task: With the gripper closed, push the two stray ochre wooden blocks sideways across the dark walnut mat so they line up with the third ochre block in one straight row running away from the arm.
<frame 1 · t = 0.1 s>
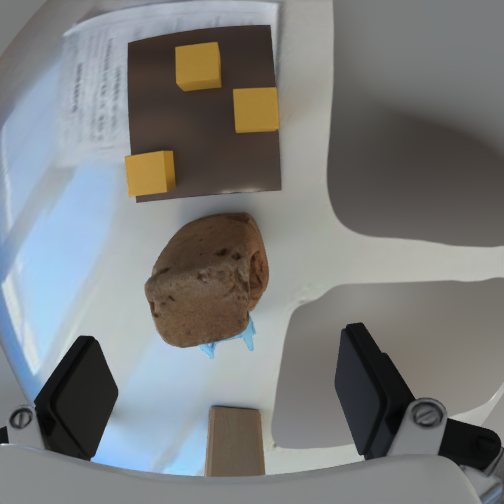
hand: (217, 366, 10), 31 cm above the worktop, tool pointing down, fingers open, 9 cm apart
brown rounded lump: (221, 236, 41), on the worktop
ochre block A: (201, 72, 33), resting on mat
light blue crumpled piece: (227, 294, 44), on the worktop
ochre block C: (156, 171, 37), resting on mat
mat: (200, 107, 35), on the worktop
wooden block: (233, 420, 54), on the worktop
ochre block B: (254, 113, 35), resting on mat
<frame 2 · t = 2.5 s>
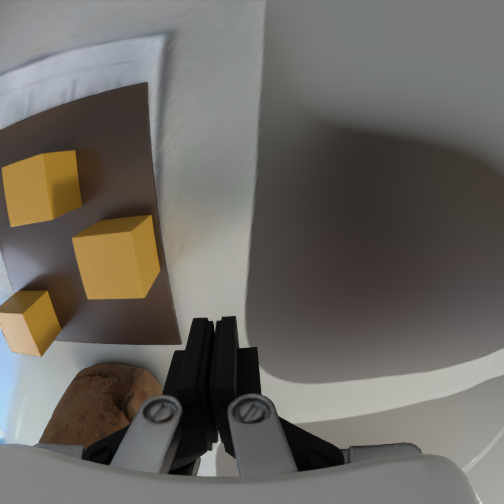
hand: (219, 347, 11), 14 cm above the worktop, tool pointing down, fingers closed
brown rounded lump: (123, 381, 30), on the worktop
ochre block A: (57, 182, 21), resting on mat
ochre block C: (39, 310, 26), resting on mat
mat: (63, 235, 23), on the worktop
ochre block B: (129, 245, 24), resting on mat
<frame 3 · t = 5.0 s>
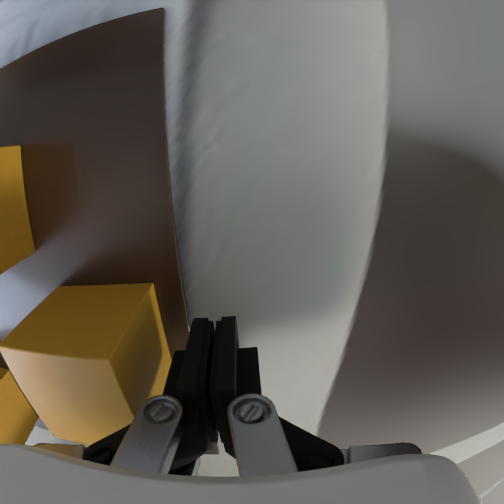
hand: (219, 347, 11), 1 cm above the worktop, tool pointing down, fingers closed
ochre block C: (4, 389, 14), resting on mat
mat: (16, 296, 12), on the worktop
ochre block B: (115, 332, 12), resting on mat, touching gripper
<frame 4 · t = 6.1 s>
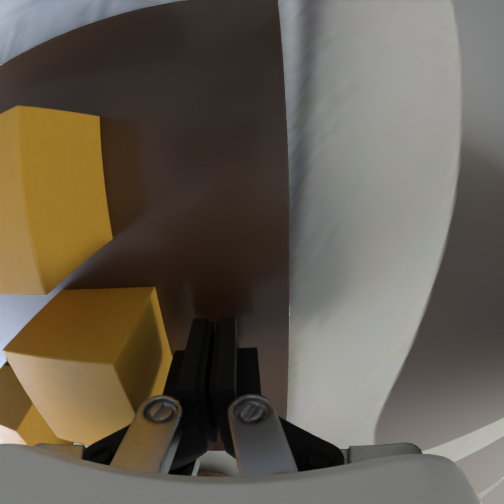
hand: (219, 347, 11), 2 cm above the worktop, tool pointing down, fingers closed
ochre block A: (56, 186, 10), resting on mat
ochre block C: (40, 396, 14), resting on mat
mat: (73, 292, 12), on the worktop
ochre block B: (118, 335, 13), resting on mat, touching gripper
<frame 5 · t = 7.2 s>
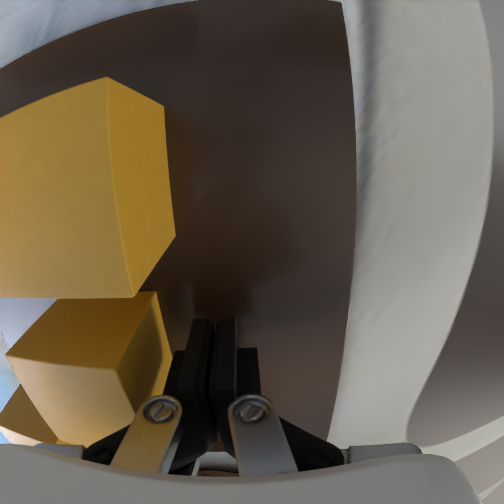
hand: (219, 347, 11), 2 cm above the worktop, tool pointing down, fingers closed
ochre block A: (108, 179, 10), resting on mat
ochre block C: (70, 404, 14), resting on mat
mat: (122, 294, 12), on the worktop
ochre block B: (119, 339, 13), resting on mat, touching gripper
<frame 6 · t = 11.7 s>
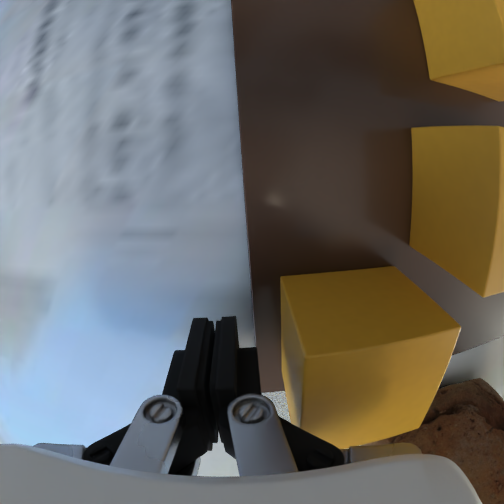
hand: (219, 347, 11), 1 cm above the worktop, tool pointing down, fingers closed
brown rounded lump: (420, 413, 16), on the worktop
ochre block A: (460, 44, 8), resting on mat
ochre block C: (337, 322, 12), resting on mat, touching gripper
mat: (461, 141, 10), on the worktop
ochre block B: (454, 188, 11), resting on mat
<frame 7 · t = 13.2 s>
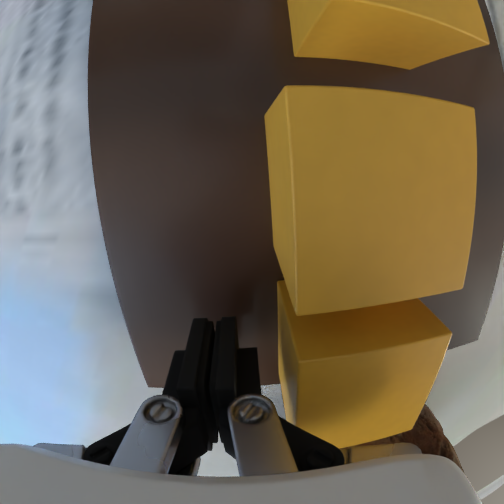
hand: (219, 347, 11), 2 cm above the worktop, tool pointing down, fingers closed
brown rounded lump: (347, 428, 16), on the worktop
ochre block A: (348, 10, 8), resting on mat
ochre block C: (332, 325, 13), resting on mat, touching gripper
mat: (347, 121, 10), on the worktop
ochre block B: (335, 178, 11), resting on mat
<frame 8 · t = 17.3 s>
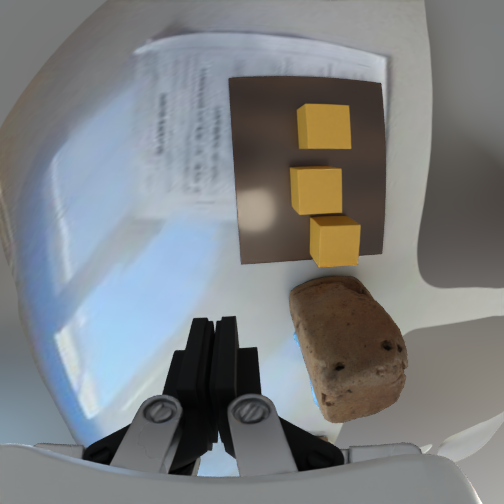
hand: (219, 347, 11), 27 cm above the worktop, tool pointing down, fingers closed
brown rounded lump: (324, 296, 42), on the worktop
ochre block A: (317, 129, 34), resting on mat
ochre block C: (328, 234, 38), resting on mat
mat: (314, 168, 35), on the worktop
ochre block B: (310, 186, 36), resting on mat
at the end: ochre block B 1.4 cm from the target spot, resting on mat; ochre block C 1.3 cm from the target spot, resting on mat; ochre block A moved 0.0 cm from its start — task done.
